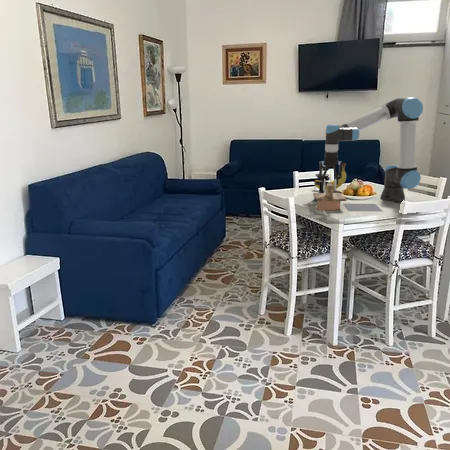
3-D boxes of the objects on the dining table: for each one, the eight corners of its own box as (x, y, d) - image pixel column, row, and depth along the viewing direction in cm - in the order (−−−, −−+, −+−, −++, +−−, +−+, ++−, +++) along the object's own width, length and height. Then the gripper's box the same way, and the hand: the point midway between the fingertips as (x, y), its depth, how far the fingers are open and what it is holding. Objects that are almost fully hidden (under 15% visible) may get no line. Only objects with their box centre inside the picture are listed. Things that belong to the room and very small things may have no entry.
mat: (374, 204, 279) (374, 203, 279) (383, 212, 260) (383, 211, 259) (342, 204, 280) (342, 203, 280) (348, 212, 261) (348, 211, 261)
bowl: (337, 205, 277) (338, 195, 276) (341, 210, 265) (341, 200, 263) (316, 205, 278) (316, 195, 277) (319, 210, 266) (319, 200, 264)
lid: (340, 195, 277) (341, 182, 275) (346, 201, 261) (347, 187, 259) (313, 195, 278) (313, 182, 276) (316, 200, 262) (317, 187, 260)
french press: (313, 201, 290) (315, 166, 284) (312, 198, 299) (313, 164, 293) (331, 201, 289) (333, 166, 282) (329, 198, 298) (331, 164, 291)
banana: (313, 190, 325) (314, 163, 320) (313, 189, 330) (315, 162, 325) (345, 191, 320) (347, 163, 315) (345, 189, 326) (347, 162, 320)
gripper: (346, 150, 265) (344, 188, 271) (314, 150, 267) (313, 188, 273) (348, 152, 258) (346, 191, 264) (316, 152, 259) (314, 191, 266)
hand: (329, 190), depth 268 cm, fingers open, 6 cm apart
